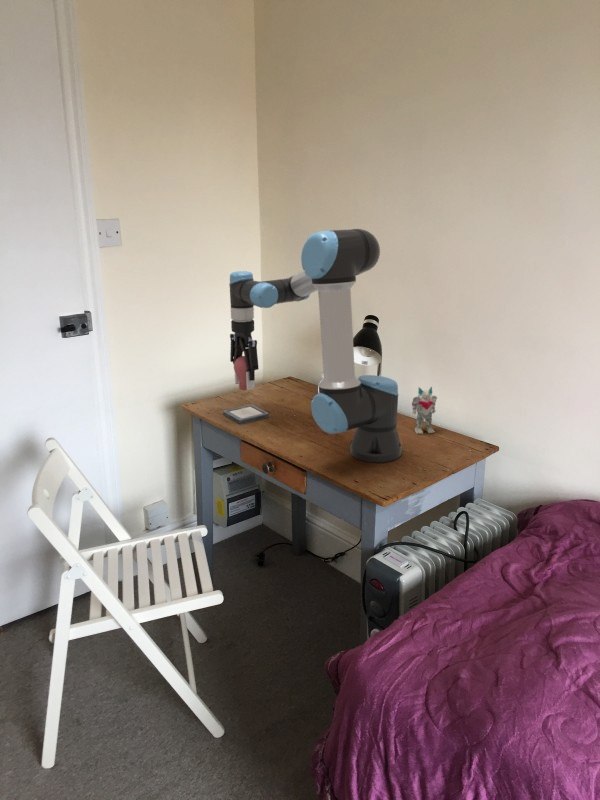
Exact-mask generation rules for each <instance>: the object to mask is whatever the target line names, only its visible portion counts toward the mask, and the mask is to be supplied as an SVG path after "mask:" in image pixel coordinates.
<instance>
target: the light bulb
mask: <svg viewBox="0 0 600 800" xmlns="http://www.w3.org/2000/svg"><path fill="white" fill-rule="evenodd" d="M246 370H248V369H247V364H246V360H245V355H242V356H241V357H239V358H237V359H236V361H235V362H234V364H233V371H234V374H235V373H236V375H237V376H238V378H239V384H238V389H239V390H241V391H248V390H247V382H246Z"/></svg>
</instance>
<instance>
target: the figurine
mask: <svg viewBox="0 0 600 800" xmlns="http://www.w3.org/2000/svg"><path fill="white" fill-rule="evenodd" d="M432 394H433V386H430V387H429V388H428V389H426V390H423V389H422V387H420V386H419V387H418V392H417V396H415V397H413V398H412V402H411V406H412V407H411V408H412V414H413V415H416V414H417V416H416V421H415V423H416V424H415V425H416V427H415V428H414V432H415V434H416V435H418V434H419V435H421V434H422V435H423V434H424V431H423V423H424V422H425V425H426V428H425V431H426V433H428V434H435V430H434V428H432V426H433V425H432V421H433V419H432V415H433V414H435V413H436V403H437V399H438V397H437V396H436V395H432Z"/></svg>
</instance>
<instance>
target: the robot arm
mask: <svg viewBox="0 0 600 800" xmlns="http://www.w3.org/2000/svg"><path fill="white" fill-rule="evenodd" d="M380 255H381V247H380V244H379V241H378V239H377V238H376V237H375V235H374V234H373V233H371V232H370V231H368V230H365V229H361V228H353V229H337V230H336V229H333V230H329V229H328V230H322V231H318V232H314V233H313V234H311V235H309V236H308V238H307V240H306V241H305V242H304V244H303V247H302V250H301V256H300V259H301V260H300V262H301V268H302V270H300V271H299V272H297V273H295V274H294V275H292V276H290V277H287V278H280V279H273V280H264V281H263V280H262V281H257V280H254V276H253V273H252V272H251V271H247V270H246V271H244V270H242V271H241V270H240V271H233V272H231V273H230V274H229V285H228V286H229V299H230V319H231V321H230V322H231V332H232V333H230V334H229V338H230V352H229V354H230V356H229V357H230V360H229V361H230V362H232V364H233V365H234V362H235V361H236V359H237V358H239V357H241V356H245V360H246V364H247V369H248V370H246V382H247V390H246V391H249V390H253V389H254V390H255V389H256V387H255V386H256V385H255V384H256V382H255V379H256V378H255V376H256V375H255V371H256V370H259V360H258V358H259V357H258V347H257V346H258V340H256V339H255V340H254V339H253V336H252V333H253V332H254V331H255V320H254V318H255V316H254V315H255V312H254V311H255V308H254V307H259V308H263V309H270V308H272V307H273V306H274V305H279V304H283V303H292V302H301V301H304V300H305V301H306V300H307V299H309V297H310V295H311V294H313V293H315V292H318V310H319V321H320V324H319V325H320V339H321V354H322V355H321V356H322V359H321V360H322V373H323V375H322V376H323V379H322V380H321V381H320V382H319V383H318V393H316V395H314V396H313V397H312V400H311V402H310V410H311V414H312V417H313V419H314V422H315V423H316V424H317V425H318V427H319V428H320V429H321V430H322V431H324V432H325V433H327V434H338V433H345V432H347V431H350V430H353V429H354V430H355V431H354V434H353V438H352V441H351V442H350V445H349V447H350V448H349V452H350V454H351V456H352V457H354V458H355V459H357V460H360V461H364V462H368V463H387V462H388V463H389V462H391V461H394V460H397V459H399V458H400V457H401V455H402V450H403V449H402V448H403V447H402V443H401V442H400V440H401V439H400V437H399V434H398V433H399V432H398V429H397V425H398V424H397V423H398V419H397V418H398V403H399V401H398V399H399V385H398V382H397V381H395V379H392V378H390V377H386V376H381V375H375V374H374V375H371V374H366V375H360V376H358V378H357V377H356V376H355V374H356V371H355V369H356V368H355V351H354V332H353V331H354V330H353V329H354V328H353V313H352V309H353V308H352V292H351V291H352V289H351V288H353V286H354V285H355V283H356V282H357V276H359V275H361V274H363V273H366V272H368V271H370V270H371V269H373V268H374V267H376V265H377V263H378V262H379V259H380ZM243 354H244V355H243ZM234 385H239V378H238V376H237V375H236V373H235V372H234Z"/></svg>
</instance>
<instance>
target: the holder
mask: <svg viewBox="0 0 600 800" xmlns="http://www.w3.org/2000/svg"><path fill="white" fill-rule="evenodd" d="M222 415H223V416H224V417H226V418H228V419H230V420H231V421H233V422H235V423H237V424H238V425H244V424H247V423H248V424H249V423H252V422H256V421H260V420H265V419H268V418H270V413H269V412H267V411H265V410H264V409H261V408H260V407H258V406H255V405H254V404H251V403H250V404H247V405H243V406H240V407H239V406H238V407H236V408H234V407H233V408H230V409H225V410H222Z"/></svg>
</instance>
